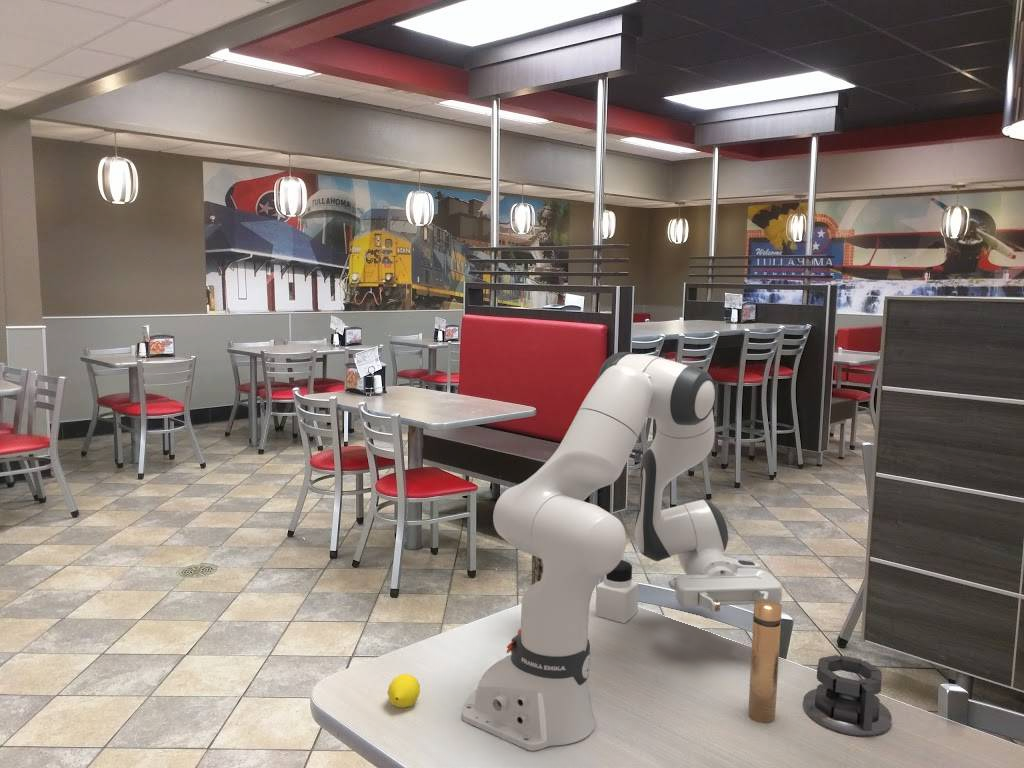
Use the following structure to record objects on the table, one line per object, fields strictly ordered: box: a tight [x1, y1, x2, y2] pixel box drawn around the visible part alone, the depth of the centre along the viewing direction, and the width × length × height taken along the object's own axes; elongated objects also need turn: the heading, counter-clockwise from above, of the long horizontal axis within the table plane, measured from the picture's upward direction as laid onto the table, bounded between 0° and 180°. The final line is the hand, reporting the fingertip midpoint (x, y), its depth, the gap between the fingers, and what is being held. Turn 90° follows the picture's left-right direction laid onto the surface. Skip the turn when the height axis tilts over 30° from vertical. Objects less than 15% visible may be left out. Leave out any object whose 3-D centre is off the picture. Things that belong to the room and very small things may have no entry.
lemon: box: [387, 673, 421, 709], centre depth 136 cm, size 7×5×5 cm
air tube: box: [747, 599, 783, 724], centre depth 133 cm, size 4×4×20 cm
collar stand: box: [802, 654, 892, 738], centre depth 135 cm, size 14×14×8 cm
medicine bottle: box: [595, 559, 639, 624], centre depth 174 cm, size 7×7×12 cm
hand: (741, 607), depth 145 cm, fingers open, 8 cm apart
